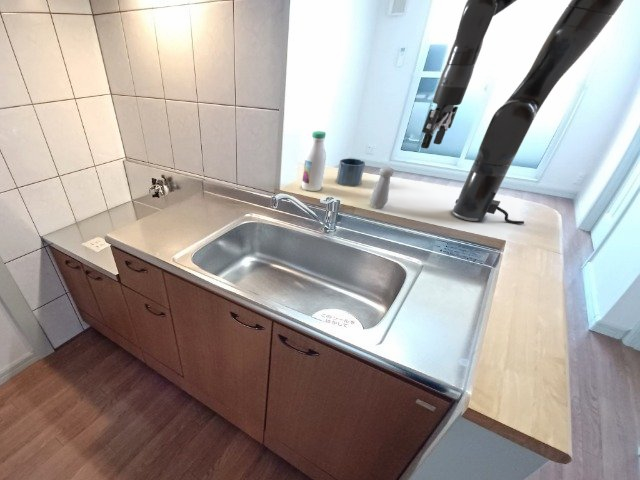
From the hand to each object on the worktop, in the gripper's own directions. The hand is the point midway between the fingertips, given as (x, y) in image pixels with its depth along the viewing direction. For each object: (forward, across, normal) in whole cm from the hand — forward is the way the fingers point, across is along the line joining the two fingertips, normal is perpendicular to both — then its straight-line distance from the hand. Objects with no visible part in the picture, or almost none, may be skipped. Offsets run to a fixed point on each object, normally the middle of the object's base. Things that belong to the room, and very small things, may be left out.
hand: (430, 145), depth 101 cm
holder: (+20, +4, +28) cm, 35 cm away
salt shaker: (+20, -10, +7) cm, 23 cm away
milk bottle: (+20, -13, +34) cm, 41 cm away
